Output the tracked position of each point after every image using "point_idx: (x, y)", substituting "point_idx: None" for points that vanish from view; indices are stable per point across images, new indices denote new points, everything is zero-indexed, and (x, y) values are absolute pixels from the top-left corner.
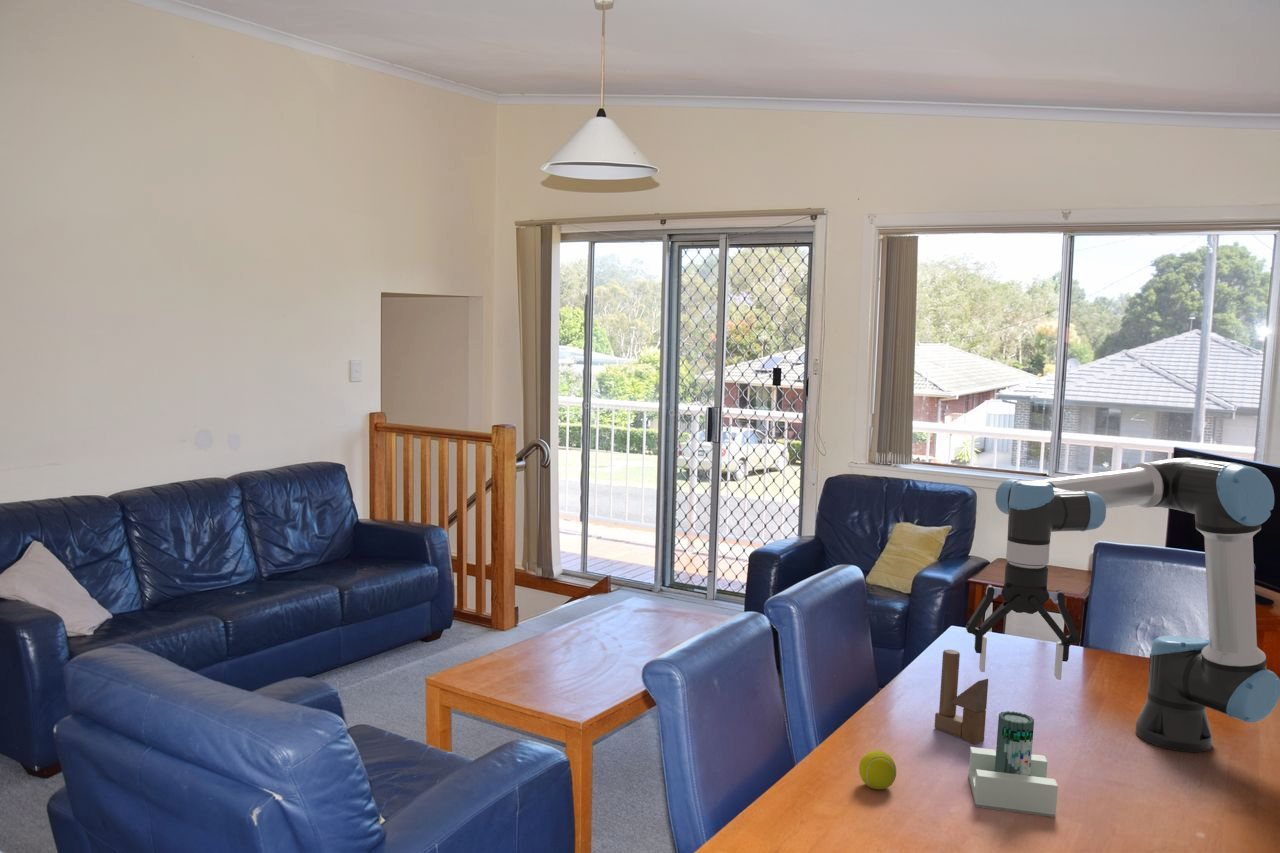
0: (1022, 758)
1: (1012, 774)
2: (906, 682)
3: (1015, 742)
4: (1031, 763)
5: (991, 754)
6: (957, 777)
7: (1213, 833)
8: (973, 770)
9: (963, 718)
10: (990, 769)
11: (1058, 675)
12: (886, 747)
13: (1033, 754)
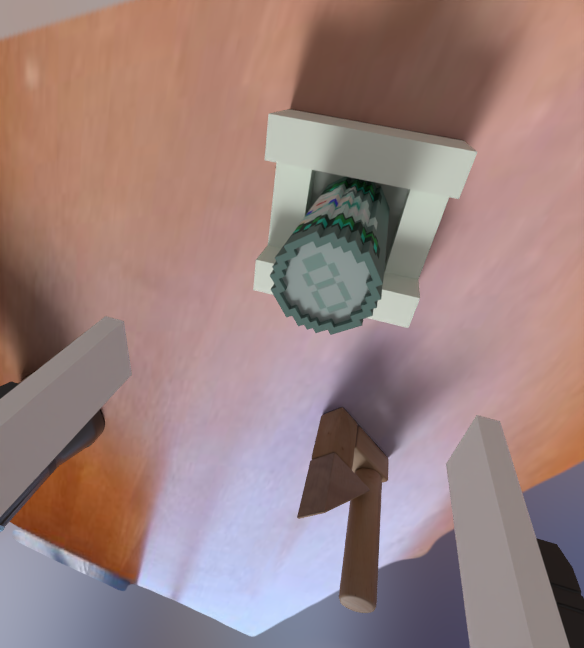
0: (332, 199)
1: (366, 175)
2: None
3: (349, 216)
4: None
5: None
6: (434, 288)
7: (11, 84)
8: (412, 277)
9: (353, 452)
10: None
11: (104, 331)
12: (524, 406)
13: None
